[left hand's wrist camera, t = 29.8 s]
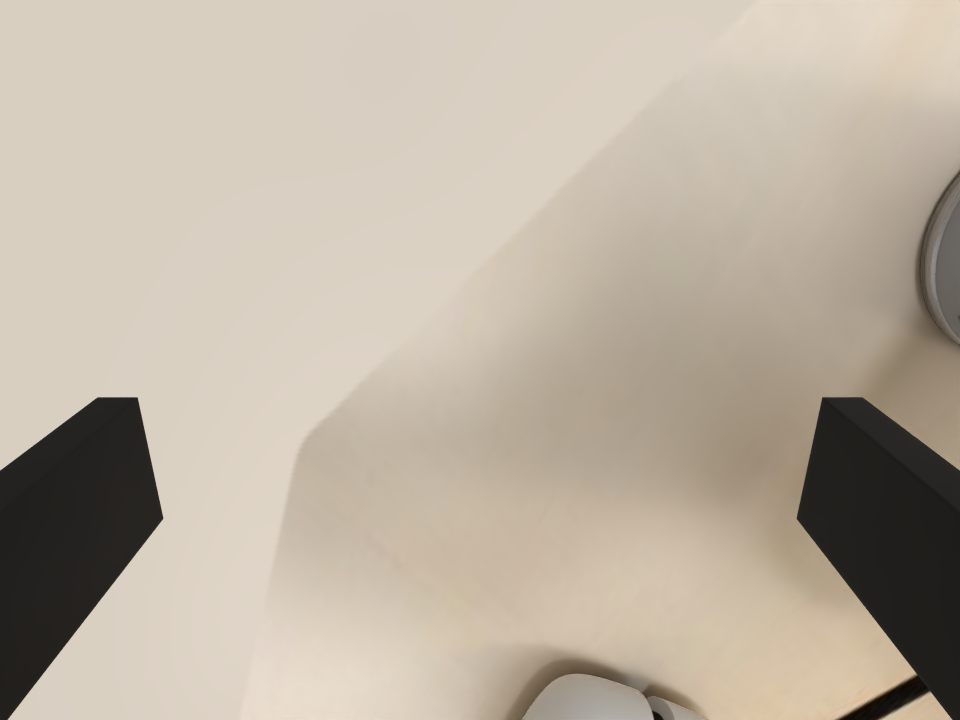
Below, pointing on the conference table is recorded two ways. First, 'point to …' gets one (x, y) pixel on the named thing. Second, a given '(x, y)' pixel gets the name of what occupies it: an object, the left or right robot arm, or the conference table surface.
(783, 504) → the conference table surface
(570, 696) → the projector
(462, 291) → the conference table surface
